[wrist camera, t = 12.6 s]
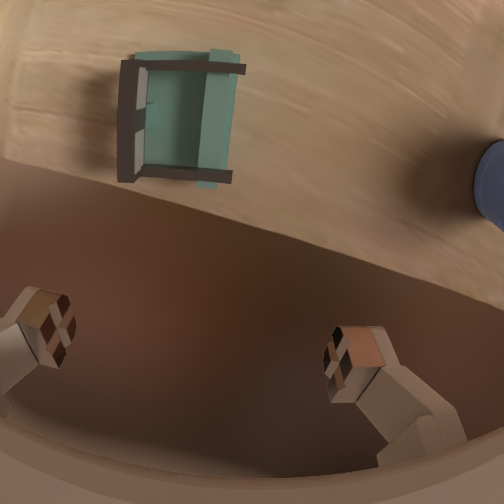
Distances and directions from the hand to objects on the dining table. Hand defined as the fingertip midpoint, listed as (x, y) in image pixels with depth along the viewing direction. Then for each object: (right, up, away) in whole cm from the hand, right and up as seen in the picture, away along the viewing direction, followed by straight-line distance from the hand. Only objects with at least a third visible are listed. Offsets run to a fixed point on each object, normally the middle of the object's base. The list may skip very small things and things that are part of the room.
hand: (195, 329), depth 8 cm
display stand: (-8, +20, +27) cm, 35 cm away
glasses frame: (-6, +17, +23) cm, 30 cm away
